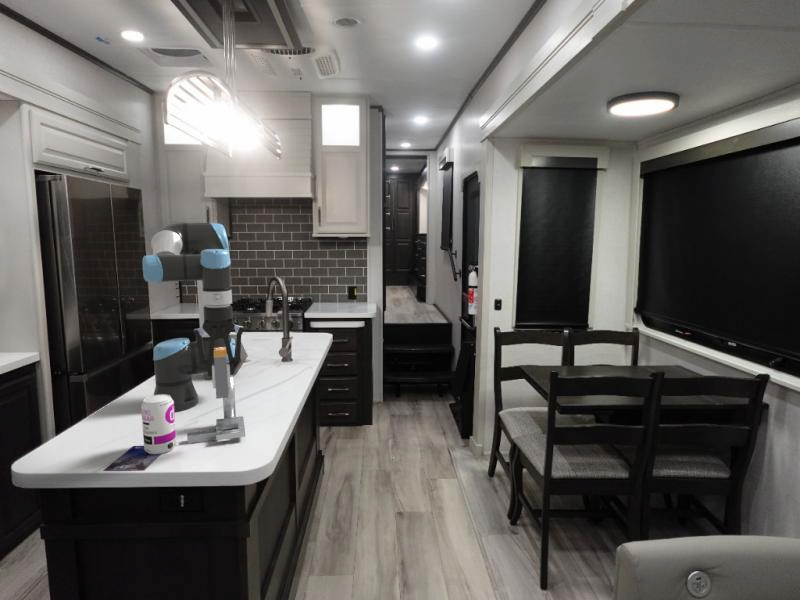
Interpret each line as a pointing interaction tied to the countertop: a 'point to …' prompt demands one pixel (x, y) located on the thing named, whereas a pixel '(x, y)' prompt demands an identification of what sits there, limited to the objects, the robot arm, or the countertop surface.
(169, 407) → the supplement can
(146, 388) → the countertop surface
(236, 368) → the planter
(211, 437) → the grey piece
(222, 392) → the orange-tipped square rod
